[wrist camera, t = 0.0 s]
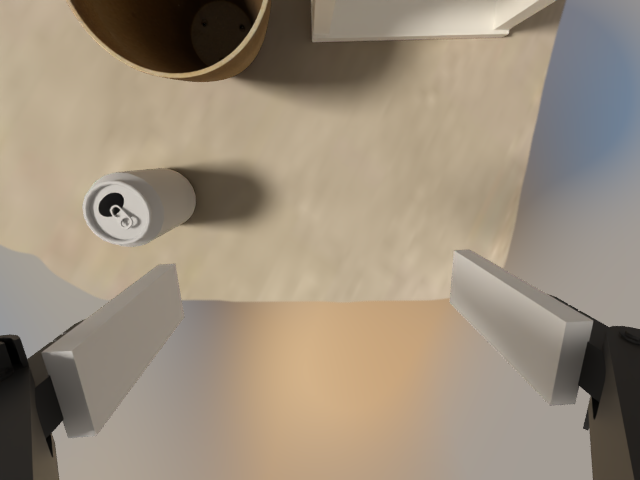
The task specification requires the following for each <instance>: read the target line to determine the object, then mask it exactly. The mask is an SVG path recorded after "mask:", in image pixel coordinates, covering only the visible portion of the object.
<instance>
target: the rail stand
mask: <svg viewBox="0 0 640 480" xmlns="http://www.w3.org/2000/svg"><path fill="white" fill-rule="evenodd" d="M555 1H556V0H311V22H312V42H341V41H381V40H422V39H462V38H503V37H504V36H506V35H508V34H509V29H511V28H512V27H514V26H516V25H517V24H519V23H520V22H522V21H524V20H525V19H527V18H529V17H530V16H532V15H534V14H535V13H537V12H538V11H540V10H542V9H543V8H545V7H547V6H548V5H550V4H551V3H553V2H555Z"/></svg>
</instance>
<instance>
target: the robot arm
mask: <svg viewBox="0 0 640 480" xmlns="http://www.w3.org/2000/svg"><path fill="white" fill-rule="evenodd" d="M450 304H451V305H453V307H454V308H455V309H456V310H457V311H458V312H459V313H460V314H461V315H462V316H463V317H464V318H465V319H466V320H467V321H468V322H469V323H470V324H471V325H472V326H473V327H474V328H475V329H476V330H477V331H478V332H479V333H480V334H481V335H482V336H483V337H484V338H485V339H486V340H487V342H488V343H489V344H490V345H491V346H492V347H493V348H494V349H495V350H496V351H497V352H498V353H499V354H500V355H501V356H502V357H503V358H504V359H505V360H506V361H507V362H508V363H509V364H510V365H511V366H512V367H513V368H514V369H515V370H516V371H517V372H518V373H519V374H520V375H521V376H522V377H523V378H524V379H525V380H526V381H527V382H528V383H529V385H531V386H532V387H533V389H534V390H535V391H536V392H537V393H538V394H539V395H540V396H541V397H542V398H543V399H544V400H545V401H546V402H547V403H548V404H549V405H550V406H551V405H565V404H575V402H576V397H577V393H578V389H579V386H580V387H582V388H583V389H584V390H585V391H586V392H587V393H589V394H590V395H591V397H590V401H589V405H588V410H587V414H586V418H585V422H584V427H583V429H586V430H588V429H589V428H590V441H591V457H592V470H593V471H592V472H593V480H640V329H636V328H631V327H625V326H612V327H608V326H606V325H604V324H602V323H600V322H599V321H597V320H595V319H594V318H592V317H590V316H588V315H587V314H585V313H583V312H581V311H578V309H576V308H574V307H572V306H571V305H568V304H567V303H565V302H564V301H562V300H560V299H558V298H557V297H554V296H552V295H549V294H546V293H544V292H543V291H541V290H539V289H537V288H536V287H534V286H532V285H530V284H529V283H527V282H525V281H524V280H522V279H520V278H518V277H516V276H515V275H513V274H511V273H509V272H508V271H506V270H504V269H503V268H501V267H499V266H497V265H496V264H494V263H492V262H491V261H489V260H487V259H485V258H484V257H482V256H480V255H478V254H477V253H475V252H473V251H471V250H454V257H453V269H452V281H451V293H450ZM183 318H184V313H183V307H182V301H181V295H180V289H179V283H178V277H177V271H176V265H175V264H161V265H157V266H156V267H155V268H153V269H152V270H151V271H149V272H148V273H147V274H145V275H144V276H143V277H141V278H140V279H139V280H137V281H136V282H135V283H133V284H132V285H131V286H129V287H128V288H127V289H125V290H124V291H123V292H121V293H120V294H119V295H117V296H116V297H115V298H113V299H112V300H111V301H110V302H108V303H107V304H105V305H104V306H103V307H101V308H100V309H99V310H97V311H96V312H95V313H93V314H92V315H91V316H90V317H88V318H87V319H85V320H82V321H80V322H78V323H76V324H74V325H73V326H72V327H70V328H69V329H68V330H66V331H65V332H64V333H63V335H60V336H58V337H57V338H55V339H54V340H53V342H50V343H49V344H47V345H46V346H45V347H43V348H42V349H41V350H39V351H38V352H36V353H35V354H34V355H32V356H31V357H30V358H28V359H27V357H26V354H25V351H24V348H23V345H22V342H21V340H20V338H19V337H18V336H17V335H2V336H0V480H59V473H58V465H57V456H56V448H55V442H54V439H53V436H52V432H53V431H54V429H56V427H57V426H58V425H59V424H60V423H61V422H62V421H63V423H64V426H65V430H66V433H67V436H68V438H75V437H89V436H97V434H98V433H99V432H100V430H101V429H102V427H103V426H104V424H105V423H106V422H107V421H108V419H109V418H110V417H111V415H112V414H113V412H114V411H115V410H116V409H117V407H118V406H119V404H120V403H121V402H122V400H123V399H124V398H125V396H126V395H127V394H128V392H129V391H130V390H131V388H132V387H133V386H134V384H135V383H136V381H137V380H138V379H139V378H140V376H141V375H142V374H143V372H144V371H145V369H146V368H147V367H148V365H149V364H150V362H151V361H152V360H153V359H154V357H155V356H156V355H157V353H158V352H159V350H160V349H161V348H162V347H163V345H164V344H165V343H166V341H167V340H168V338H169V337H170V336H171V334H172V333H173V332H174V330H175V329H176V328H177V326H178V325H179V324H180V322H181V321H182V320H183Z"/></svg>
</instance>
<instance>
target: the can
mask: <svg viewBox="0 0 640 480" xmlns="http://www.w3.org/2000/svg"><path fill="white" fill-rule="evenodd" d="M195 206H196V195H195V192H194V189H193V187H192V185H191V184H190V183H189V181H188V180H187V179H186V178H185V177H184V176H183V175H181V174H180V173H178V172H176V171H173V170H171V169H163V168H158V169H147V170H136V171H125V172H116V173H112V174H107V175H104V176H103V177H101V178H100V179H98V180H97V181H95V182H94V184H93V185H92V187H91V188H90V189H89V191H88V192H87V194H86V195H85V198H84V202H83V215H84V218H85V220H86V222H87V225H88V226H89V228H90V229H91V230H92V231H93V232H94V234H95V235H97V236H98V237H100V238H101V239H103V240H104V241H107V242H109V243H112V244H117V245H120V246H127V247H136V246H140V245H145V244H147V243H149V242H150V241H152V240H154V239H156V238H157V237H159V236H161V235H163V234H165V233H166V232H168V231H170V230H172V229H173V228H175V227H177V226H179V225H181V224H182V223H184V222H185V221H187V220H188V219H189V218H190V217H191V215H192V214H193V212H194V209H195Z"/></svg>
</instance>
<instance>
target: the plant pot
mask: <svg viewBox="0 0 640 480" xmlns="http://www.w3.org/2000/svg"><path fill="white" fill-rule="evenodd" d="M66 2H67V4H68V5H69V7H70V9H71V11H72V12H73V14H74V15H75V17H76V18H77V20H78V21H79V23H80V24H81V25H82V27H83V28H84V29H85V30H86V31H87V33H88V34H89V35H90V36H91V37H92V38H93V39H94V40H95V41H96V42H97V43H98V44H99V45H100V46H101V47H102V48H103V49H104V50H106V51H107V52H108V53H109V54H111V55H112V56H114V57H115V58H116V59H118V60H119V61H121V62H123V63H124V64H126V65H128V66H130V67H132V68H134V69H137V70H139V71H141V72H144V73H147V74H151V75H155V76H159V77H165V78H170V79H176V80H183V81H192V82H210V81H219V80H224V79H227V78H230V77H233V76H235V75H237V74H239V73H241V72H242V71H243V70H245V69H246V68H247V67H248V66H249V65H250V64H251V63H252V61H253V60H254V59H255V57H256V56H257V54H258V52H259V50H260V48H261V46H262V43H263V41H264V38H265V34H266V31H267V26H268V21H269V15H270V8H271V0H66ZM203 22H204V23H205V24H206V26H203V25H202V23H203ZM240 26H244V28H243V29H241V28H240Z"/></svg>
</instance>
